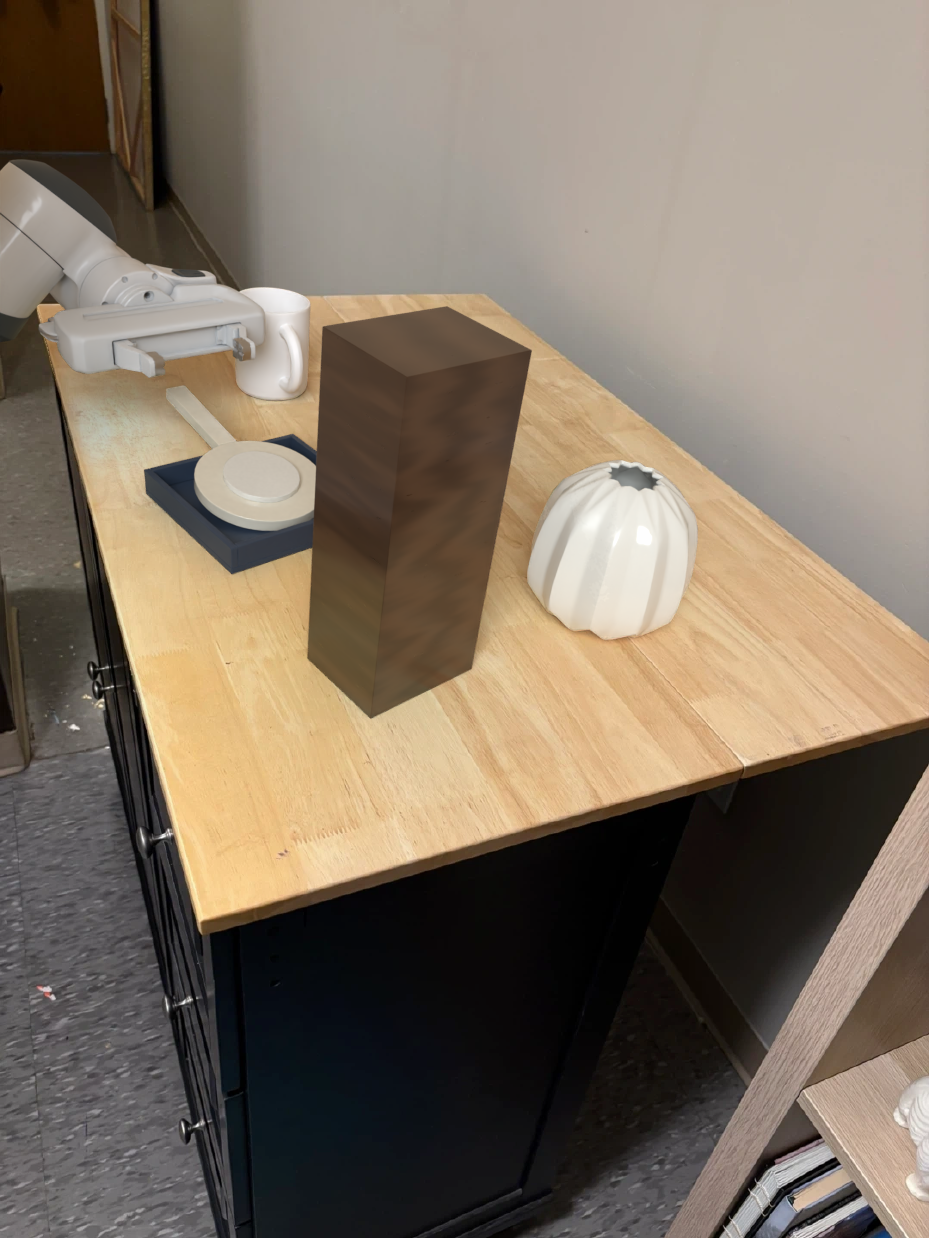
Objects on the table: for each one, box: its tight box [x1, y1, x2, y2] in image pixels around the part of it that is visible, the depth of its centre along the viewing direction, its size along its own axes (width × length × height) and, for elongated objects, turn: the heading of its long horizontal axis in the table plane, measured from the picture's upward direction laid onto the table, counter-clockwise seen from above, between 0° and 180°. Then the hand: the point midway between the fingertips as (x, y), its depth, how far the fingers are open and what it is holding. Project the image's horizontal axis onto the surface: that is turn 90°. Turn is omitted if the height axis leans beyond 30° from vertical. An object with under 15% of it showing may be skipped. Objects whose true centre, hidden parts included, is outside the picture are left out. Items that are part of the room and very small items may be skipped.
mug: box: [234, 286, 312, 402], centre depth 103 cm, size 12×8×10 cm
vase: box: [526, 459, 699, 641], centre depth 76 cm, size 14×14×13 cm
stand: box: [306, 305, 533, 719], centre depth 63 cm, size 10×8×26 cm
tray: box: [143, 433, 317, 575], centre depth 85 cm, size 16×15×3 cm
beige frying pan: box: [165, 384, 316, 531], centre depth 87 cm, size 12×22×2 cm, turn 42°
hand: (204, 360), depth 85 cm, fingers open, 8 cm apart
